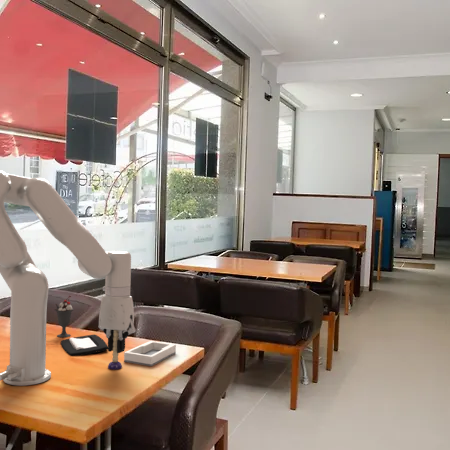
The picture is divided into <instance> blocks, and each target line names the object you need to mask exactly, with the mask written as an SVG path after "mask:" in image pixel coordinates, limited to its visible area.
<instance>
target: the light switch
mask: <svg viewBox="0 0 450 450" xmlns="http://www.w3.org/2000/svg"><path fill="white" fill-rule="evenodd" d="M60 345H61V348H62V349H63V351H64V352H65V353H66V354H67V355H69V356H70V357H77V356H78V357H79V356H87V355H91V354H96V353H100V352H103V351H108V343H106V341H105V340H104V339H102V337H100V336H98V335H97V334H89V335H81V336H76V337H75V336H74V337H69V338H66V339H65V338H64V339H62V340H60Z"/></svg>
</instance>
